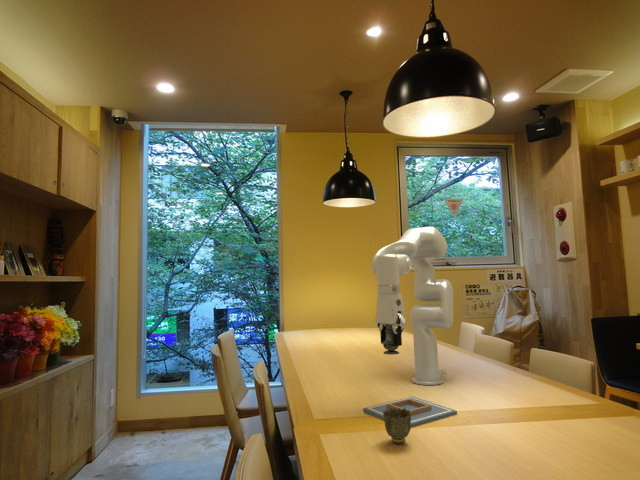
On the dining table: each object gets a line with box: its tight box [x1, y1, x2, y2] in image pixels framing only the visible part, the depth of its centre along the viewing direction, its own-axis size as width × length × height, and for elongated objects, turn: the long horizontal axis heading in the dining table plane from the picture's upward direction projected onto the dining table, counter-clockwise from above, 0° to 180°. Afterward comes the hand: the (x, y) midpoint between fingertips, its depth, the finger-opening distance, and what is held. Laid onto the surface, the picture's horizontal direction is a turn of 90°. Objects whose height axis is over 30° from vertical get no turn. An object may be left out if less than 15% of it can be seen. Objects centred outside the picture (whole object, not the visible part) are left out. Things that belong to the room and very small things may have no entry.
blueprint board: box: [362, 395, 458, 429], centre depth 132 cm, size 22×20×2 cm
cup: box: [383, 408, 411, 446], centre depth 109 cm, size 8×7×8 cm
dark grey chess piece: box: [382, 324, 400, 356], centre depth 138 cm, size 6×6×12 cm
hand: (391, 344), depth 138 cm, fingers closed on dark grey chess piece, 5 cm apart
